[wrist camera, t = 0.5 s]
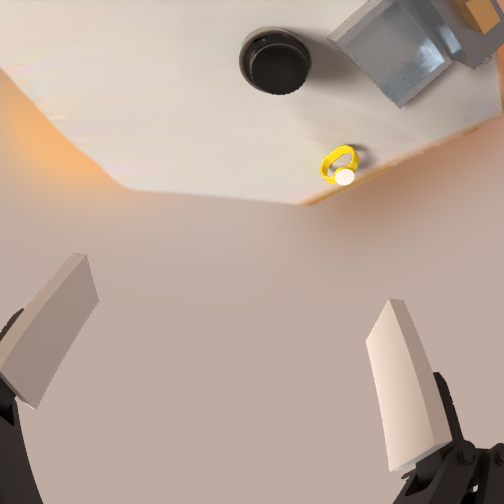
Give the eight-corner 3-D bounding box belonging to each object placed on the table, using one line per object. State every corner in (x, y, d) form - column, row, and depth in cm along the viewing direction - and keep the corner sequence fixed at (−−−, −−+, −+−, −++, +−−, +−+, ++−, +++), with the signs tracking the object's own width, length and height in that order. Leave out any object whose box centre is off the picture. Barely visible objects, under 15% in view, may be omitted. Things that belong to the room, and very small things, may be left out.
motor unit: (326, 37, 25) (359, 52, 18) (425, -42, 12) (479, -42, 5) (395, 107, 31) (435, 146, 24) (479, 34, 19) (531, 58, 12)
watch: (325, 169, 41) (332, 195, 37) (314, 159, 39) (320, 184, 36) (356, 148, 37) (367, 172, 34) (345, 136, 36) (356, 159, 32)
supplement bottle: (301, 29, 24) (327, 39, 16) (295, 78, 29) (315, 111, 22) (241, 24, 24) (239, 30, 16) (239, 74, 29) (236, 105, 21)
